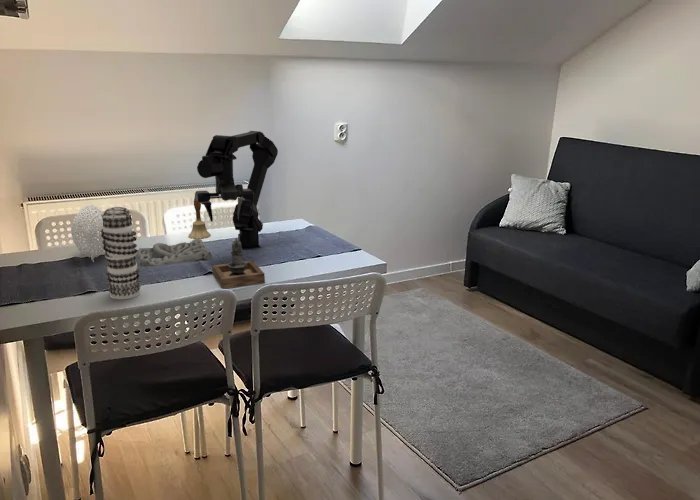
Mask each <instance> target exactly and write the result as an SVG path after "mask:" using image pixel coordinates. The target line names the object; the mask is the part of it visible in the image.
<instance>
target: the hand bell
mask: <svg viewBox="0 0 700 500" xmlns="http://www.w3.org/2000/svg"><path fill="white" fill-rule="evenodd" d="M193 208H194V210H195V221H193V222H192V228H191V232H190V233H189V234H188V238H190V239H192V238H193V240H194V239H201V240H205V239H208V238H210V237H211V236H212V235H211V233H210V232H209V230H208V229H207V227H206V226H207V225H206V222H205V221H203V220H202V218H201V217H202V216H201V208H202V204H201V203H200V202H198V201H197V200H196V199H195V197H194V198H193ZM204 238H205V239H204Z"/></svg>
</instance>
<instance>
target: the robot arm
mask: <svg viewBox="0 0 700 500" xmlns="http://www.w3.org/2000/svg"><path fill="white" fill-rule="evenodd" d="M247 146H249V149H250V151H251V152H252V155H251V157H252V160H253V168H252V172H251V174H250V178H249V181H248V183H247V187H246V188H244V186H243V184H241V183H239V184H235V179H234V178H235V177H234V160H237V157H236V155H235V154H234V153H236V152H237V151H239V149H241V148H244V147H247ZM278 153H279V151H278V147H277V145H276V144H275V143H274V141H272V140H271V139H270V138H268V137H267V136H265V134H264V133H263V132H262V131H257V130H250V131H247V132H243V133H238V134H235V135H222V134H221V135H219V134H215V135H214V136H213V137H212V139H211V141H210V143H209V145H208V148H207V150H206V152H205V155H202V157H201V160H200V161H199V162H198V163H197V167H196V169H197V173H198V175H199V176H200V177H201V178H204V179H207V178H213V177H214V178H215V179H214V180H215V192H209V190H196V191H195V193H194V198H195V199H196V200H197V201H198V202H200V203H201V205H203V206H204V207H205V210H206V212H207V215H208V217H209V220H210V222H211V223H213V222H214V221H213V220H214V219H213V217H214V216H213V209H212V201H210V200H212V199H222V201H224V202H225V201H231V200H232V201H237V203H236V205H235V206H234V207H235V208H234V211H233V212H232V223H233V225H234V228H235V231H238V234H237V239H238V241H240V242H241V250H251V249H252V250H253V249H258V248H259V249H260V248H261V245H260V240H259V239H260V236H259V235H260V234H259V233H260V232H261V231H263V227H264V226H263V225H264V224H263V222H262V221H261V220H260V218H259V216H260V213H259V209H258V202H259V199H260V196H261V192H262V188H263V185H264V181H265V180H266V176H267V172H268V169H269V168H270V167H271V166H272V165H273V164H274V163H275V162H276V158H277V156H278Z"/></svg>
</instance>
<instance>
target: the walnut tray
mask: <svg viewBox="0 0 700 500" xmlns="http://www.w3.org/2000/svg"><path fill="white" fill-rule="evenodd" d="M245 262H246V263H247V266H246V269H245V271H244V273H246V274H244V275H236V276H229V275H230V274H231V273H232V272H231V271H230V269H229V267H228V264H229V263H223V264H215V265H211V266H212V267H211V268H212V270H211V271H212V276H213V278H214V279H215V281H216V282H217V283H218V284H219V287H220V288H221V289H222V288H223V289H229V288H230V289H231V288H235V287H243V286H253V285H260V284H265V283H266V282H265V273H264V271H262V269H261V268H260V267H259V266H258V265H257V264H256V263H255V262H254V260H247V261H245Z"/></svg>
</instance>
